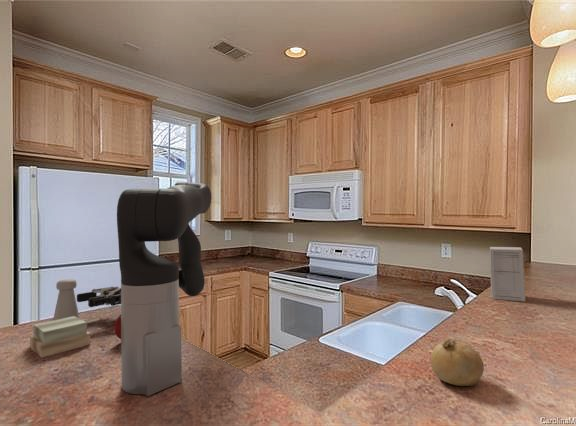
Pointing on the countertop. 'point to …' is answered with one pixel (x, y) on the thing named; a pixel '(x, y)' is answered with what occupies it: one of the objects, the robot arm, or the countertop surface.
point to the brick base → (59, 345)
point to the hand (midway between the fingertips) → (82, 300)
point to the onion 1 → (118, 327)
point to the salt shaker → (66, 300)
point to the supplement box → (507, 273)
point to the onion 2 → (456, 363)
